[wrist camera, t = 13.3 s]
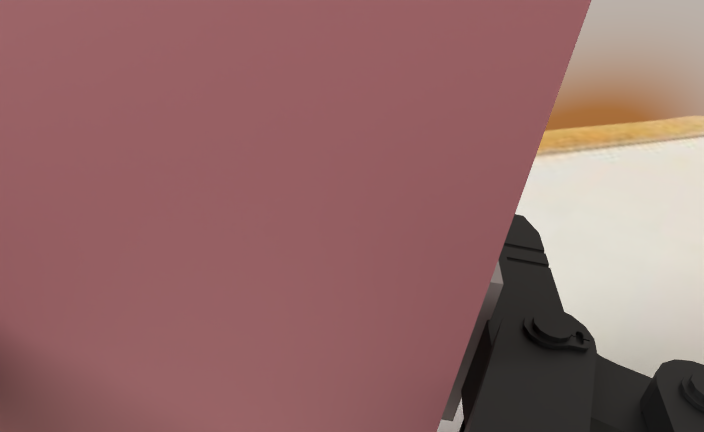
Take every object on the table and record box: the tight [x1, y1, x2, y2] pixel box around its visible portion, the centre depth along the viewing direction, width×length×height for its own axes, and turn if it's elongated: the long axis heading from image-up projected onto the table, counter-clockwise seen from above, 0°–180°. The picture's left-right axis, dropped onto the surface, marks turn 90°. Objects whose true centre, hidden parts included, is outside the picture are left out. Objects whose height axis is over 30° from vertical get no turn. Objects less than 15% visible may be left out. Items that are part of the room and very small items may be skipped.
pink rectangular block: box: [0, 0, 591, 432], centre depth 11 cm, size 6×6×20 cm
